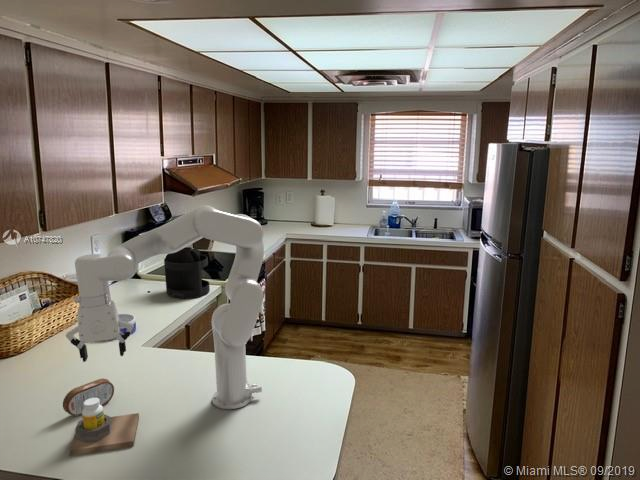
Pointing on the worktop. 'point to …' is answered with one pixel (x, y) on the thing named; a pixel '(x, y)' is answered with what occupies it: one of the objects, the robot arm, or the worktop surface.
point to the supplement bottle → (92, 414)
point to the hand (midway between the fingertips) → (104, 356)
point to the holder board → (106, 435)
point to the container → (185, 273)
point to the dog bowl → (128, 319)
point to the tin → (88, 395)
